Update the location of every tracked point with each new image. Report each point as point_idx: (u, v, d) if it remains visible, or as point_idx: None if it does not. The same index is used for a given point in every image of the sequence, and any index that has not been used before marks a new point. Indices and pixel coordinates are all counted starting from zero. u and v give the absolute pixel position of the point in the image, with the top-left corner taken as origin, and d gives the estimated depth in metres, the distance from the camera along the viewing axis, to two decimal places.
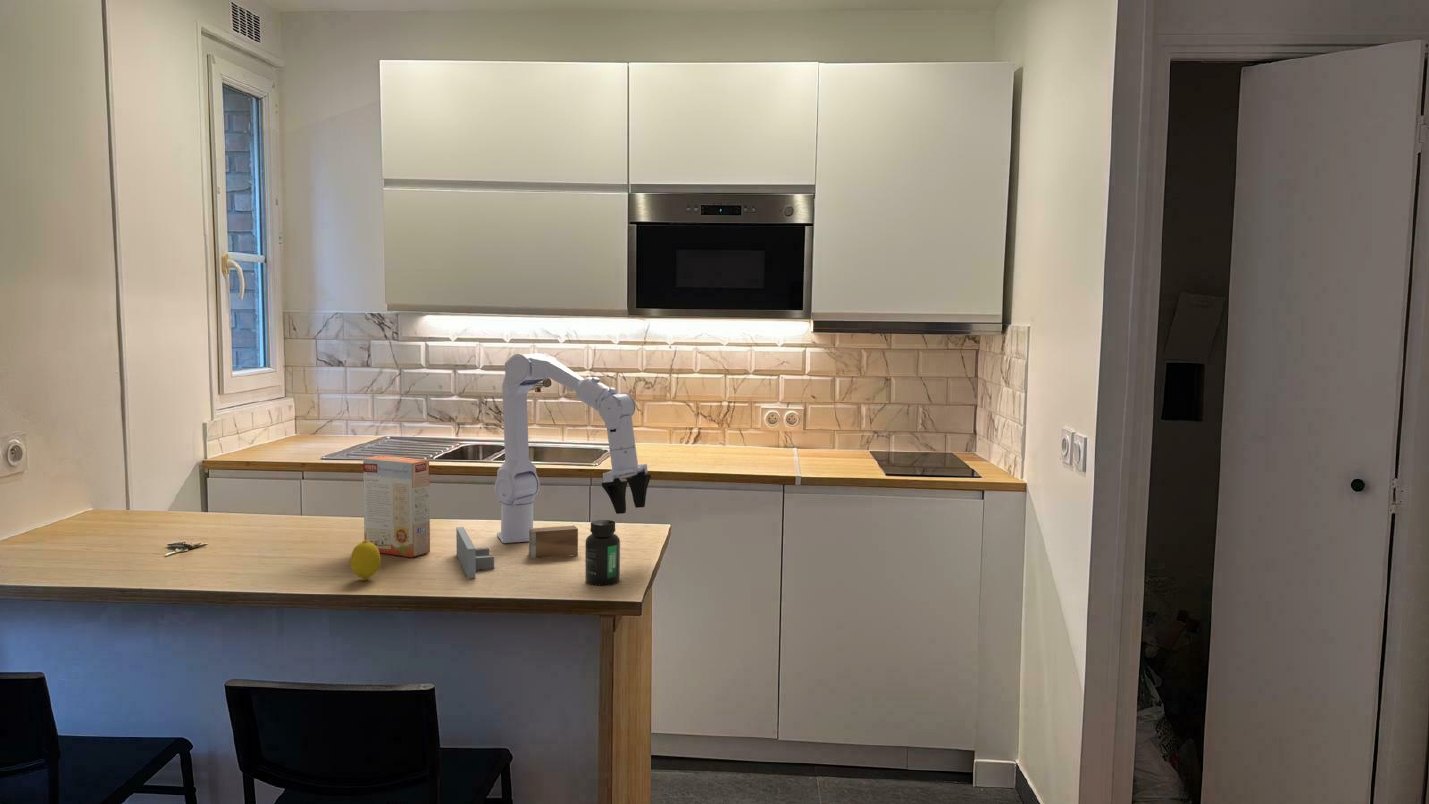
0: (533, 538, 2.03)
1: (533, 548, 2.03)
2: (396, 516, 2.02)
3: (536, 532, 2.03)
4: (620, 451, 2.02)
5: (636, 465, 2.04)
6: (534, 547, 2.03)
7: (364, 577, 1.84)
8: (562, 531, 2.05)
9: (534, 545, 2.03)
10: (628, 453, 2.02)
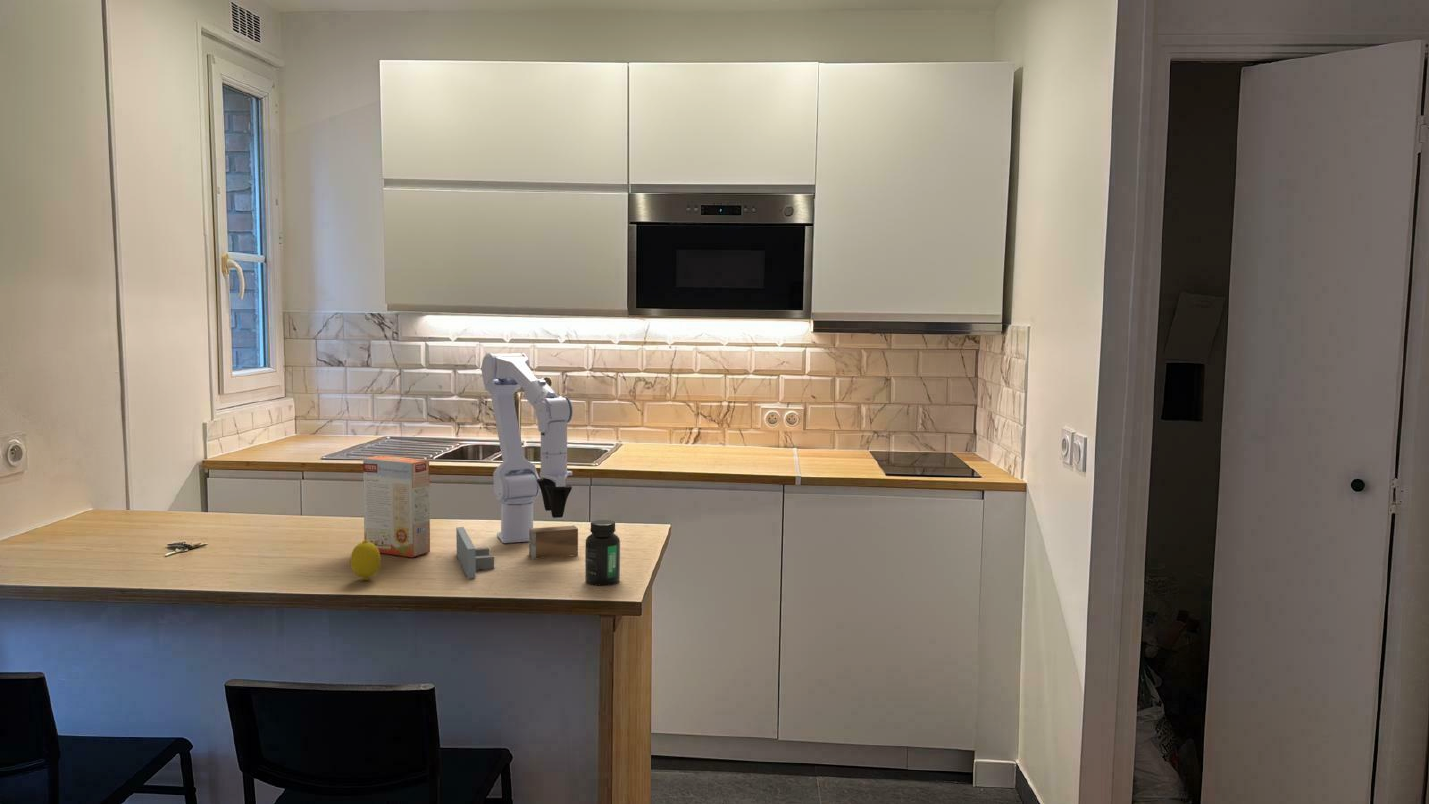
0: (533, 538, 2.03)
1: (533, 548, 2.03)
2: (396, 516, 2.02)
3: (536, 532, 2.03)
4: (561, 455, 2.03)
5: None
6: (534, 547, 2.03)
7: (364, 577, 1.84)
8: (562, 531, 2.05)
9: (534, 545, 2.03)
10: (566, 457, 2.04)
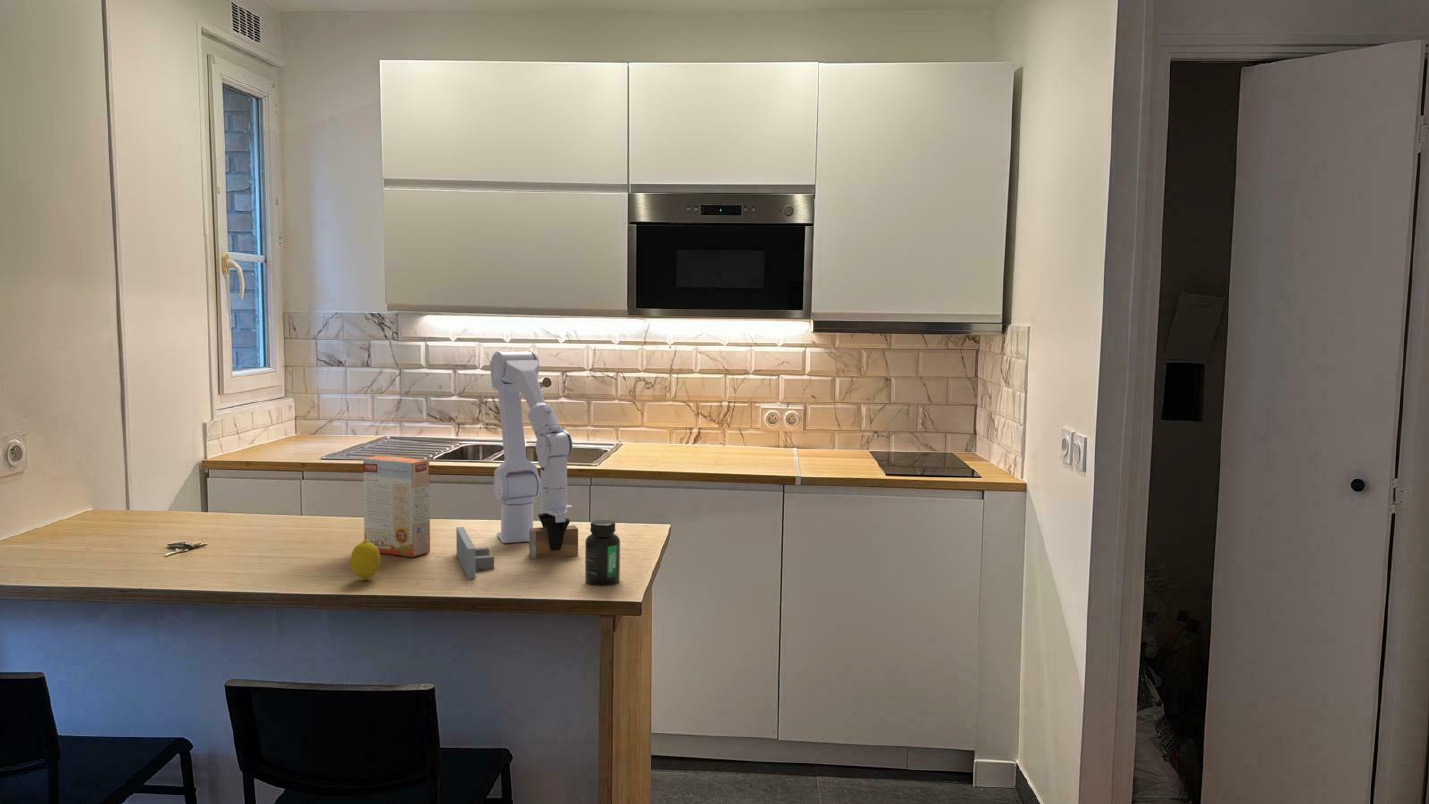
0: (533, 538, 2.03)
1: (533, 548, 2.03)
2: (396, 516, 2.02)
3: (536, 532, 2.03)
4: (561, 490, 2.03)
5: None
6: (534, 547, 2.03)
7: (364, 577, 1.84)
8: None
9: (534, 545, 2.03)
10: (566, 492, 2.05)
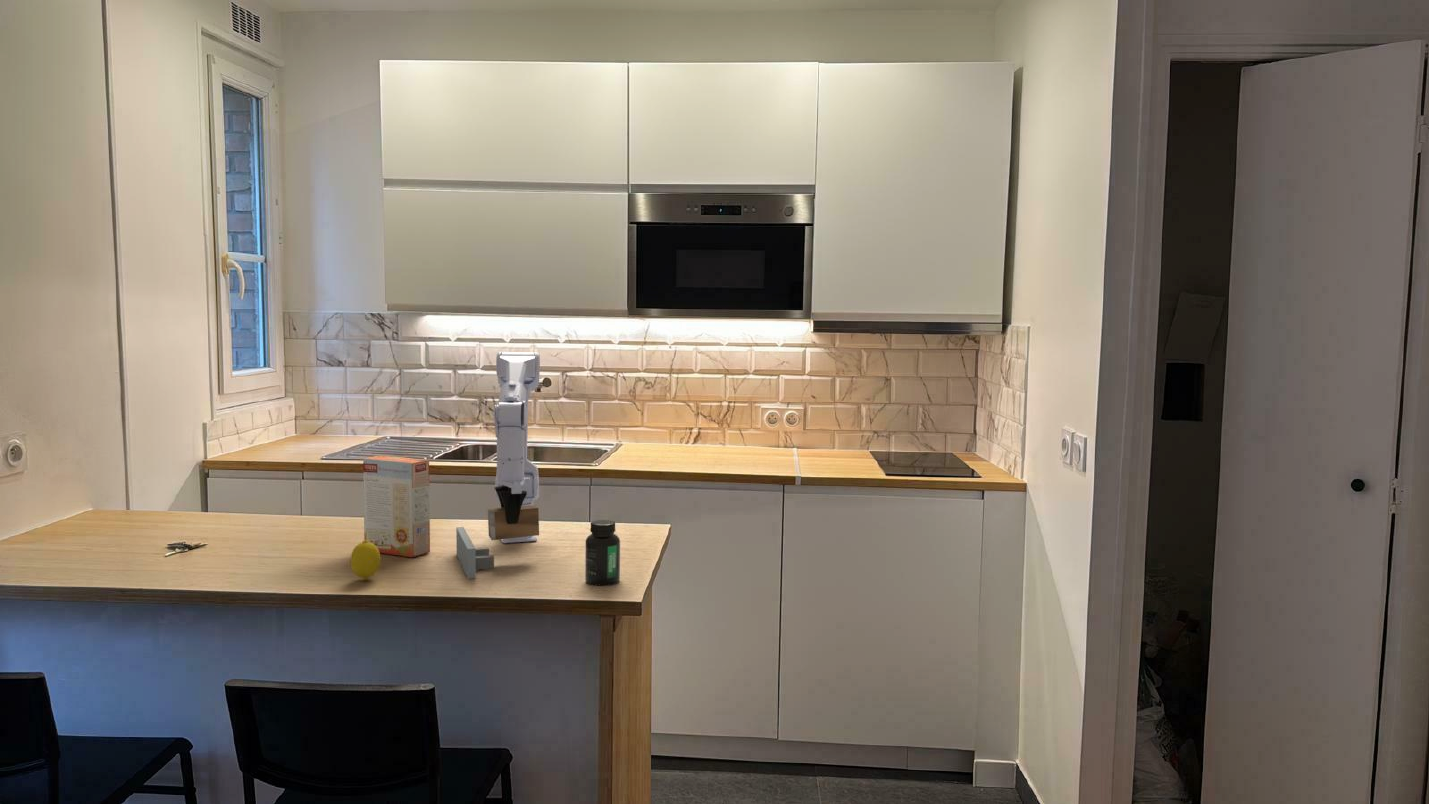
0: (492, 519, 1.97)
1: (492, 529, 1.97)
2: (396, 516, 2.02)
3: (495, 512, 1.97)
4: (518, 461, 1.97)
5: None
6: (493, 528, 1.97)
7: (364, 577, 1.84)
8: (522, 510, 1.99)
9: (493, 526, 1.97)
10: (523, 463, 1.99)
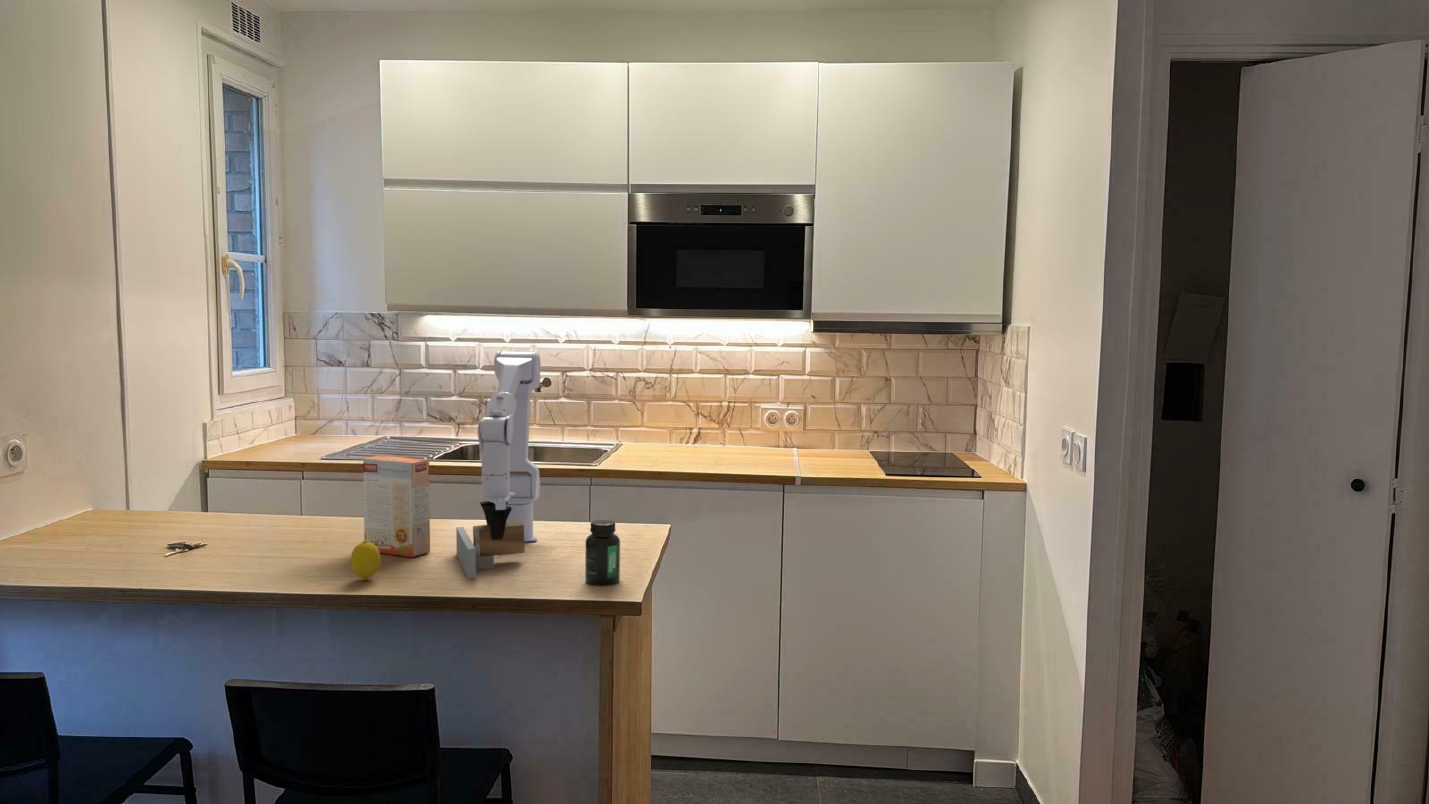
0: (476, 536, 1.95)
1: (477, 546, 1.96)
2: (396, 516, 2.02)
3: (479, 530, 1.96)
4: (503, 477, 1.96)
5: None
6: (478, 545, 1.96)
7: (364, 577, 1.84)
8: (507, 528, 1.98)
9: (478, 543, 1.96)
10: (508, 479, 1.97)
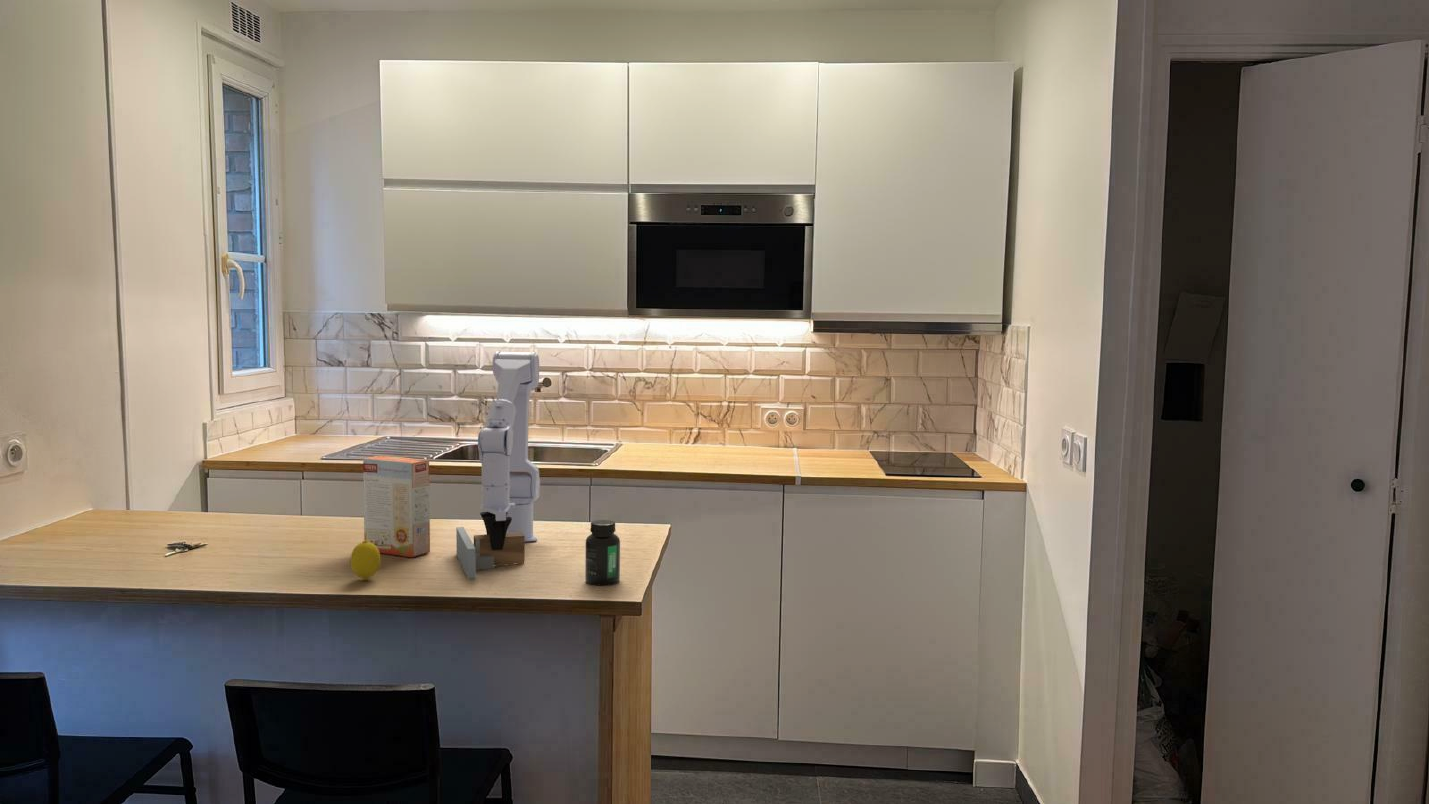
0: (477, 545, 1.96)
1: None
2: (396, 516, 2.02)
3: (480, 539, 1.96)
4: (503, 487, 1.96)
5: None
6: (478, 555, 1.96)
7: (364, 577, 1.84)
8: (508, 538, 1.98)
9: (478, 553, 1.96)
10: (508, 489, 1.97)
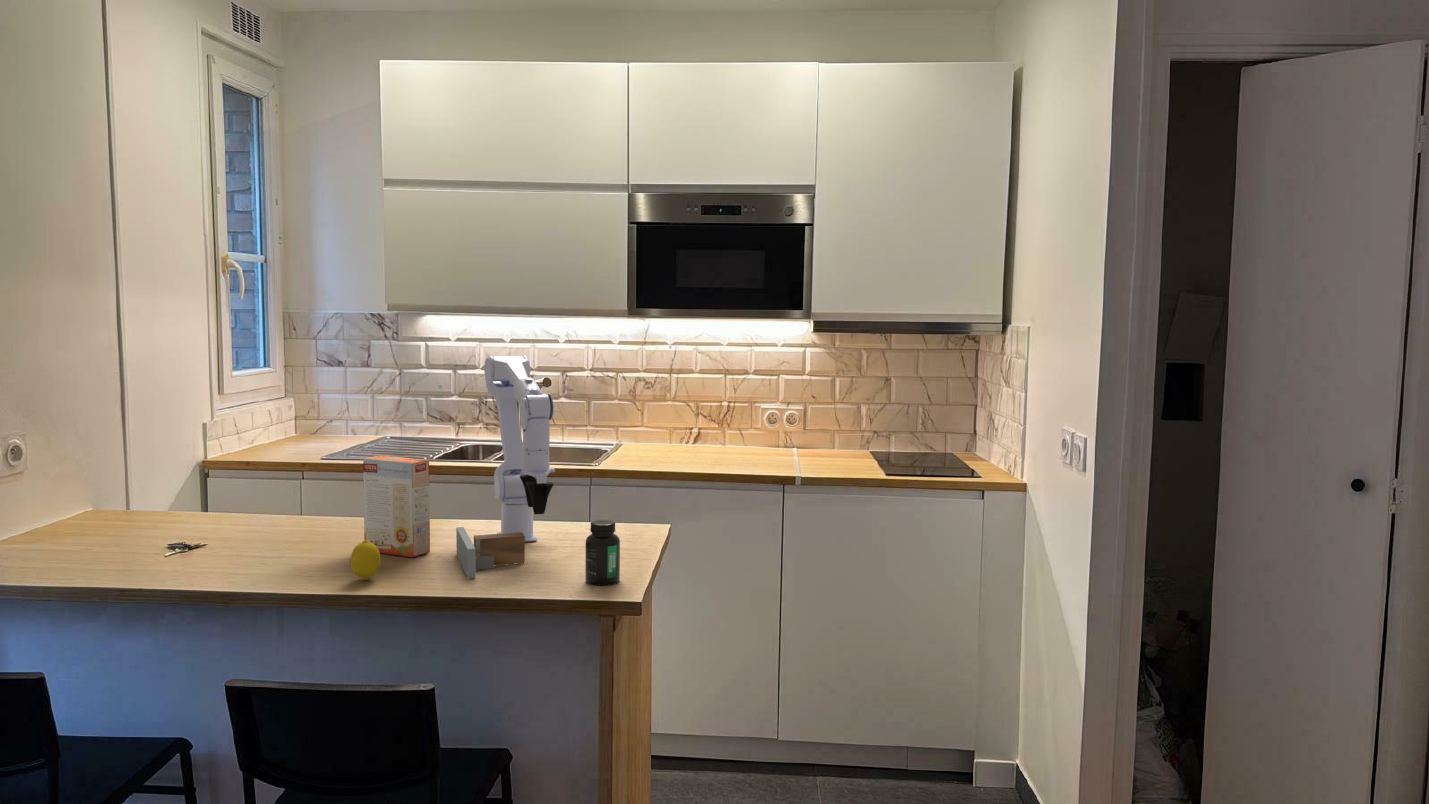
0: (477, 545, 1.96)
1: None
2: (396, 516, 2.02)
3: (480, 539, 1.96)
4: (543, 452, 2.03)
5: None
6: (478, 555, 1.96)
7: (364, 577, 1.84)
8: (508, 538, 1.98)
9: (478, 553, 1.96)
10: (548, 454, 2.05)
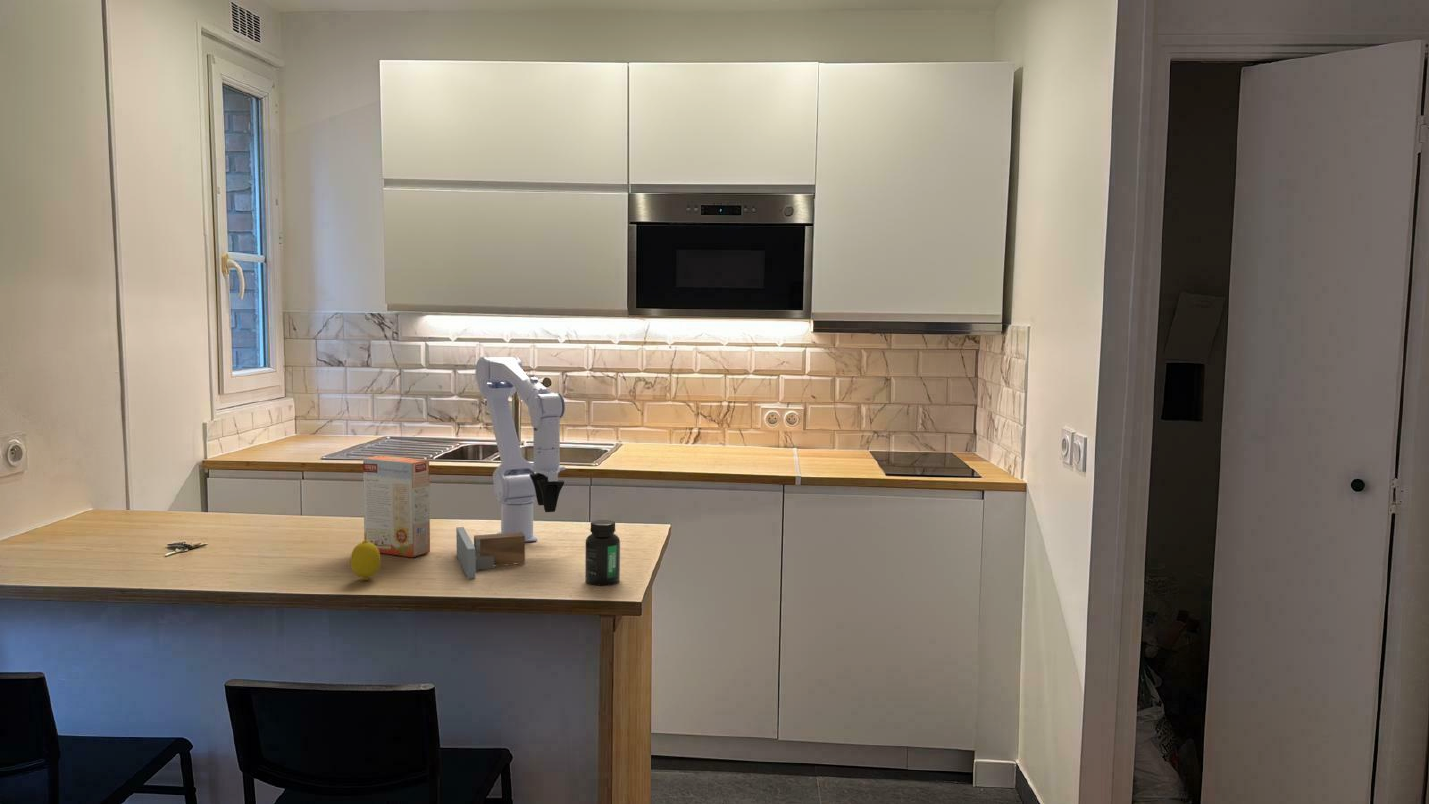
0: (477, 545, 1.96)
1: None
2: (396, 516, 2.02)
3: (480, 539, 1.96)
4: (554, 450, 2.05)
5: None
6: (478, 555, 1.96)
7: (364, 577, 1.84)
8: (508, 538, 1.98)
9: (478, 553, 1.96)
10: (558, 452, 2.07)
